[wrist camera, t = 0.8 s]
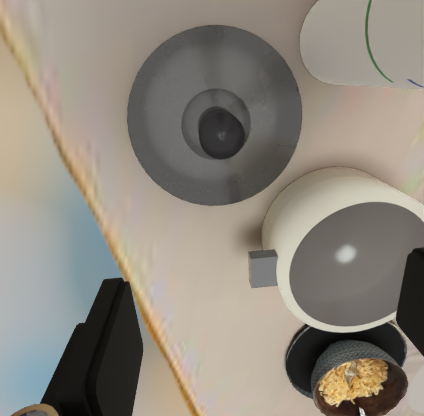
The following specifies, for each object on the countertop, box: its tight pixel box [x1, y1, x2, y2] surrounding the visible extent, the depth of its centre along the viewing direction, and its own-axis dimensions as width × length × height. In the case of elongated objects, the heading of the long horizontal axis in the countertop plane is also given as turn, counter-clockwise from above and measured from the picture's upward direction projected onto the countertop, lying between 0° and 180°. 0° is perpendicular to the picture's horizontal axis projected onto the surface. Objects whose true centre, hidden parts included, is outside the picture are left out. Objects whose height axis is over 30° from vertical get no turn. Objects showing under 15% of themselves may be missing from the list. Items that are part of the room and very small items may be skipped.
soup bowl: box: [286, 322, 408, 416], centre depth 37 cm, size 15×16×7 cm
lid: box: [127, 25, 302, 206], centre depth 25 cm, size 15×15×7 cm
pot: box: [248, 167, 424, 333], centre depth 30 cm, size 14×18×7 cm
